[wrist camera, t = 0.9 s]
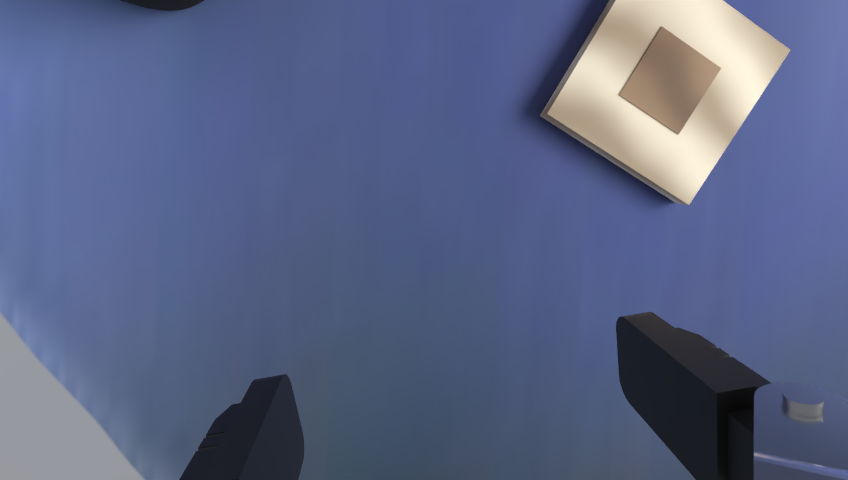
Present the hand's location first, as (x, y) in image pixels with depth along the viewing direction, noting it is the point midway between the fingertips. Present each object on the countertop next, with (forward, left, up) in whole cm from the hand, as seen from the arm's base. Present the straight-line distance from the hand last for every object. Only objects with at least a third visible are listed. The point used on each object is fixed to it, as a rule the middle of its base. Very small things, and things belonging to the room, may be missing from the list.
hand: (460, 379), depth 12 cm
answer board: (+17, -10, -23) cm, 30 cm away
